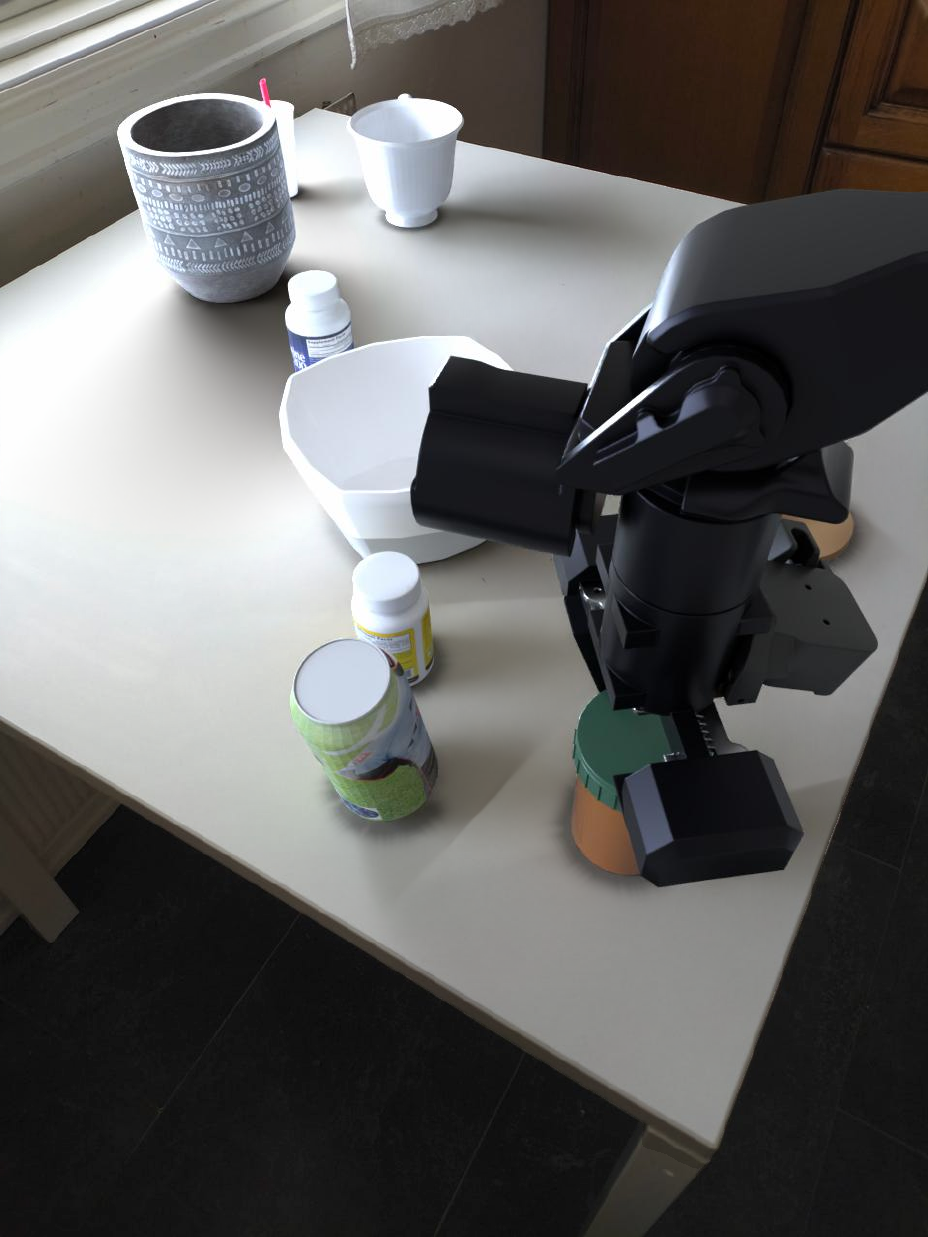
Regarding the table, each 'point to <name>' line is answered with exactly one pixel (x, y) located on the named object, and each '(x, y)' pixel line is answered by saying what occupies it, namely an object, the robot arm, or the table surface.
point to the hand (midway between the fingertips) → (636, 771)
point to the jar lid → (614, 746)
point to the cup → (284, 136)
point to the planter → (212, 193)
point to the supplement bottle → (394, 611)
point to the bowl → (372, 439)
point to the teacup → (407, 156)
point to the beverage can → (364, 728)
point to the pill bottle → (317, 319)
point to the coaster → (829, 535)
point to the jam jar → (601, 833)
